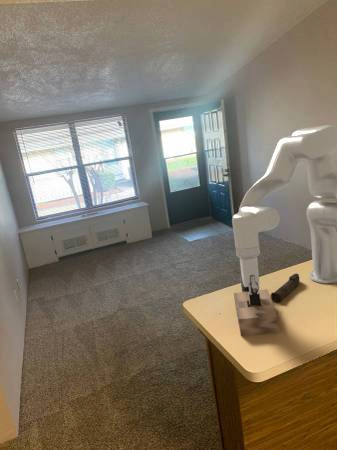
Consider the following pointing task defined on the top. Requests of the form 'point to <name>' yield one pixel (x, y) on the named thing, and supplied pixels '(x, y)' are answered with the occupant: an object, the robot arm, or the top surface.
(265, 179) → the robot arm
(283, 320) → the top surface
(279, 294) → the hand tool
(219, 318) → the top surface
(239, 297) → the hole block
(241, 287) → the supplement bottle
